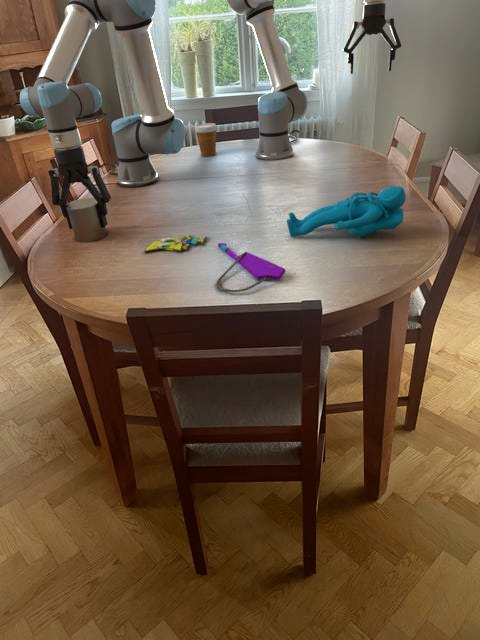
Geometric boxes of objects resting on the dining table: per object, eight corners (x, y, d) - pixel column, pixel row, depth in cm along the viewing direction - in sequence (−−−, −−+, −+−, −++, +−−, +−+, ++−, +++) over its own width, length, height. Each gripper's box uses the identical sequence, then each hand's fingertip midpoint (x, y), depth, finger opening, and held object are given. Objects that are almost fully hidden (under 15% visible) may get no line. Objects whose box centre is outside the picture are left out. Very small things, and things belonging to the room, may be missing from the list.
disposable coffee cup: (194, 156, 208) (190, 127, 202) (203, 151, 216) (200, 122, 209) (213, 157, 205) (210, 127, 199) (222, 151, 212) (220, 122, 206)
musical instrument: (259, 304, 102) (301, 255, 114) (257, 296, 101) (299, 248, 113) (174, 288, 115) (219, 245, 127) (171, 280, 114) (217, 238, 126)
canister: (92, 243, 136) (83, 210, 131) (68, 239, 140) (59, 207, 134) (113, 231, 142) (105, 199, 137) (89, 228, 146) (81, 196, 141)
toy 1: (199, 248, 125) (143, 249, 127) (199, 251, 125) (144, 252, 127) (206, 233, 133) (154, 234, 135) (206, 236, 133) (154, 237, 136)
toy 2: (290, 200, 134) (401, 173, 124) (299, 235, 139) (407, 211, 129) (281, 224, 121) (406, 195, 110) (292, 261, 126) (412, 237, 116)
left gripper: (22, 152, 126) (47, 233, 138) (102, 148, 123) (120, 230, 135) (35, 145, 132) (58, 223, 144) (111, 141, 129) (128, 220, 141)
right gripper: (338, 6, 164) (336, 75, 175) (414, -1, 161) (407, 70, 172) (336, 6, 170) (335, 73, 181) (409, -1, 167) (403, 68, 178)
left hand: (88, 226), depth 140 cm, fingers closed on canister, 9 cm apart
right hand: (370, 72), depth 177 cm, fingers open, 13 cm apart
